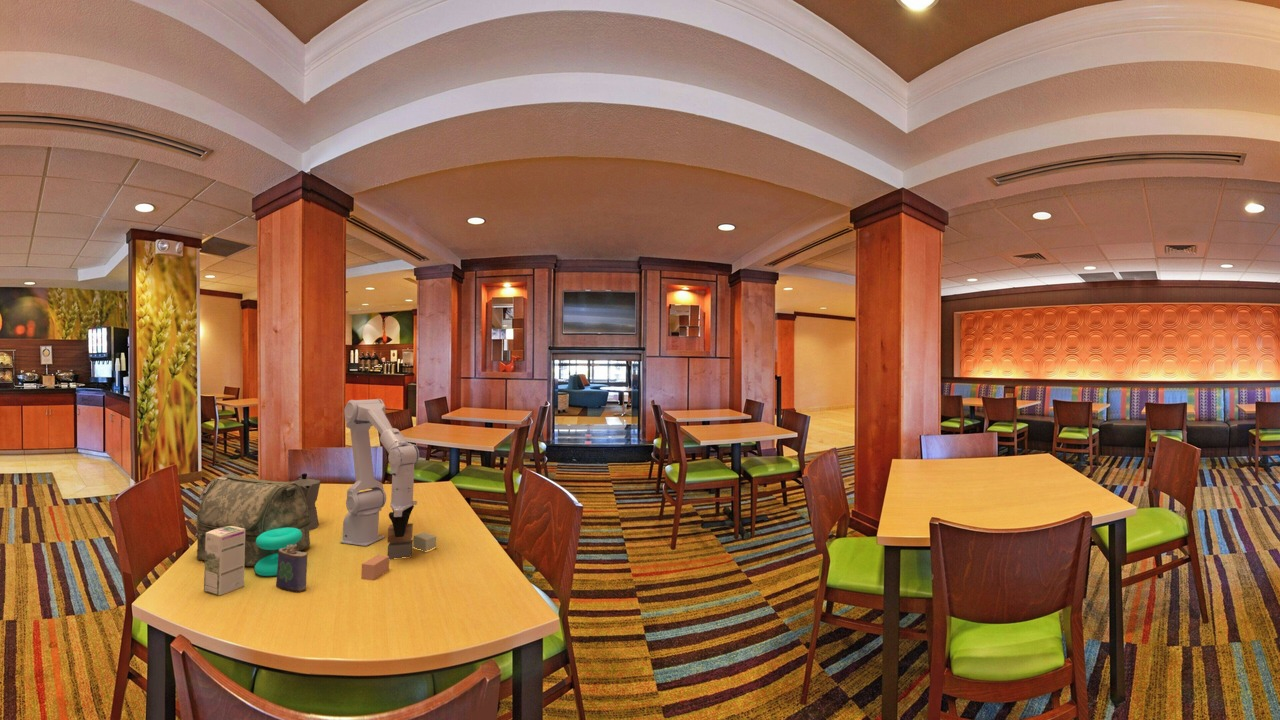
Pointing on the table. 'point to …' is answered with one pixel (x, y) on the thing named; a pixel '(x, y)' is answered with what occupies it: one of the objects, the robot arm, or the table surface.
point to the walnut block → (405, 538)
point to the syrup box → (224, 560)
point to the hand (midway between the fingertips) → (400, 534)
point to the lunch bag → (252, 511)
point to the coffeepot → (310, 497)
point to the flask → (291, 569)
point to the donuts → (274, 548)
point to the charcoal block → (399, 549)
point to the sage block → (424, 541)
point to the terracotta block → (375, 567)
